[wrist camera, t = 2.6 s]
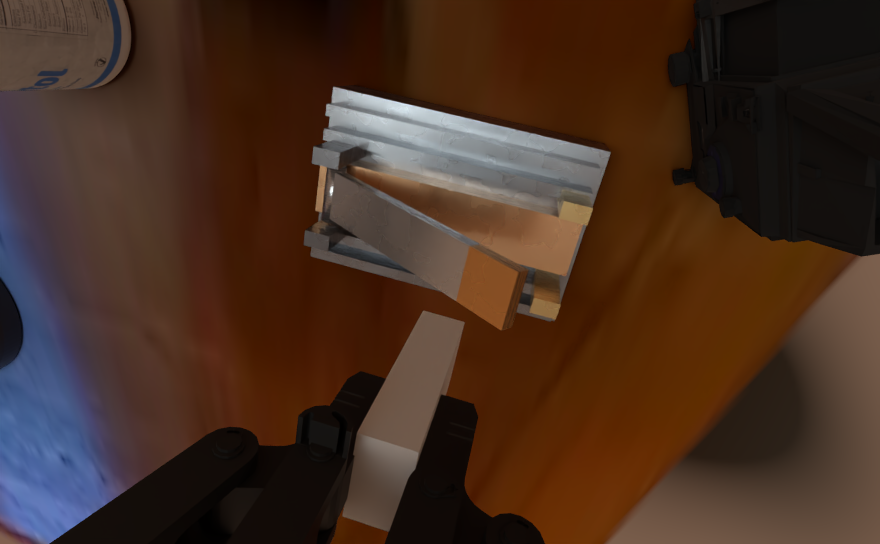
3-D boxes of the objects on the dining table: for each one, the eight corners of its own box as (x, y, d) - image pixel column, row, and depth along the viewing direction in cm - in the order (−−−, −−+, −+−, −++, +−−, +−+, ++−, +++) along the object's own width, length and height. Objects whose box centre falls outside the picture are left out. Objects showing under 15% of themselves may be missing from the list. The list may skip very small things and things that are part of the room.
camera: (842, -78, 28) (1393, -357, 10) (840, 163, 32) (1222, 285, 14) (650, -23, 31) (802, -159, 12) (671, 194, 35) (809, 331, 17)
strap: (333, 216, 34) (317, 217, 33) (339, 163, 32) (323, 163, 32) (512, 331, 24) (497, 337, 23) (533, 263, 23) (517, 266, 22)
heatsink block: (335, 239, 41) (282, 281, 33) (354, 85, 36) (298, 89, 28) (553, 297, 39) (555, 357, 31) (604, 143, 35) (621, 166, 26)
